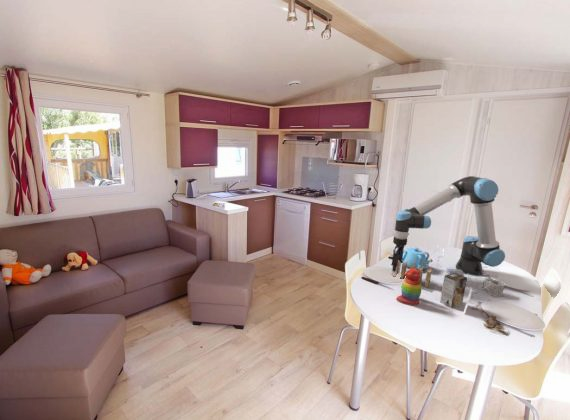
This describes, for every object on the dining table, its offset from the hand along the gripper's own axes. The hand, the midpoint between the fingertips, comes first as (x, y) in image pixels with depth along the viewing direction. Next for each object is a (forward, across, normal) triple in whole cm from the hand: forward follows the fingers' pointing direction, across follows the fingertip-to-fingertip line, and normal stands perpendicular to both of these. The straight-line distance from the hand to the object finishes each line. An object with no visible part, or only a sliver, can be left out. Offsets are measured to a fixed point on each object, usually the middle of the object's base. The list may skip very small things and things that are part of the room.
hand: (395, 273), depth 181 cm
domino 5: (+2, 0, -18) cm, 18 cm away
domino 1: (+2, 0, 0) cm, 2 cm away
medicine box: (+3, +17, -29) cm, 34 cm away
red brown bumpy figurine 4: (+2, 0, -4) cm, 5 cm away
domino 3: (+2, 0, -9) cm, 9 cm away
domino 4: (+2, 0, -14) cm, 14 cm away
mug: (+3, +20, -48) cm, 52 cm away
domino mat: (+3, 0, -9) cm, 9 cm away
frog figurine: (+4, -20, -51) cm, 54 cm away
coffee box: (+3, -12, -32) cm, 34 cm away
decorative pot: (+3, +26, -4) cm, 26 cm away
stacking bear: (+3, -22, -14) cm, 26 cm away
